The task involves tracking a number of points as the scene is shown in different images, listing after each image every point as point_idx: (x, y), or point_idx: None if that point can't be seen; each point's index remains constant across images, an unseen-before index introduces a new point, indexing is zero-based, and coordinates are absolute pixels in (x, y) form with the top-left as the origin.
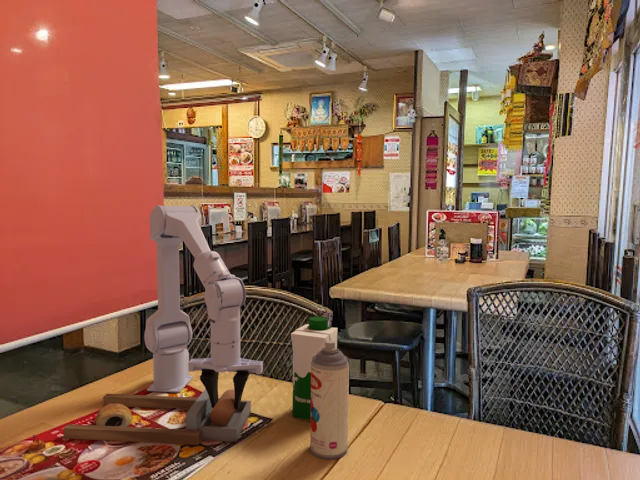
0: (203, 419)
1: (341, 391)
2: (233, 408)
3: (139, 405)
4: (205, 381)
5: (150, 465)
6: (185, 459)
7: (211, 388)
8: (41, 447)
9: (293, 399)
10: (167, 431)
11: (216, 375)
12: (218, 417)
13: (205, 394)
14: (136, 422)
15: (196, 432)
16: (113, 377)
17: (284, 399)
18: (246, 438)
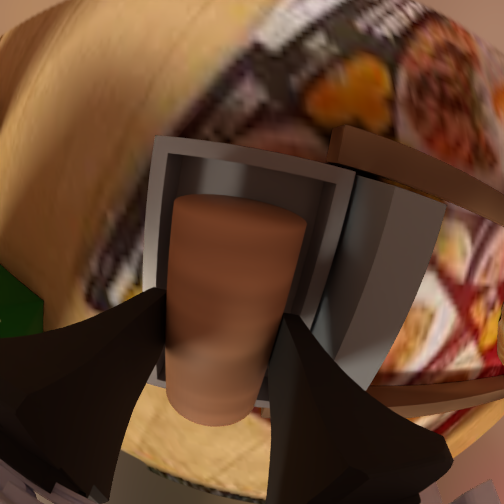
0: (333, 274)
1: None
2: (167, 277)
3: (470, 382)
4: (397, 437)
5: (450, 50)
6: (361, 42)
7: (320, 392)
8: None
9: (11, 330)
10: (462, 184)
11: (278, 501)
12: (252, 210)
13: None
14: (492, 312)
15: (357, 146)
16: (461, 450)
17: None
18: (140, 166)
